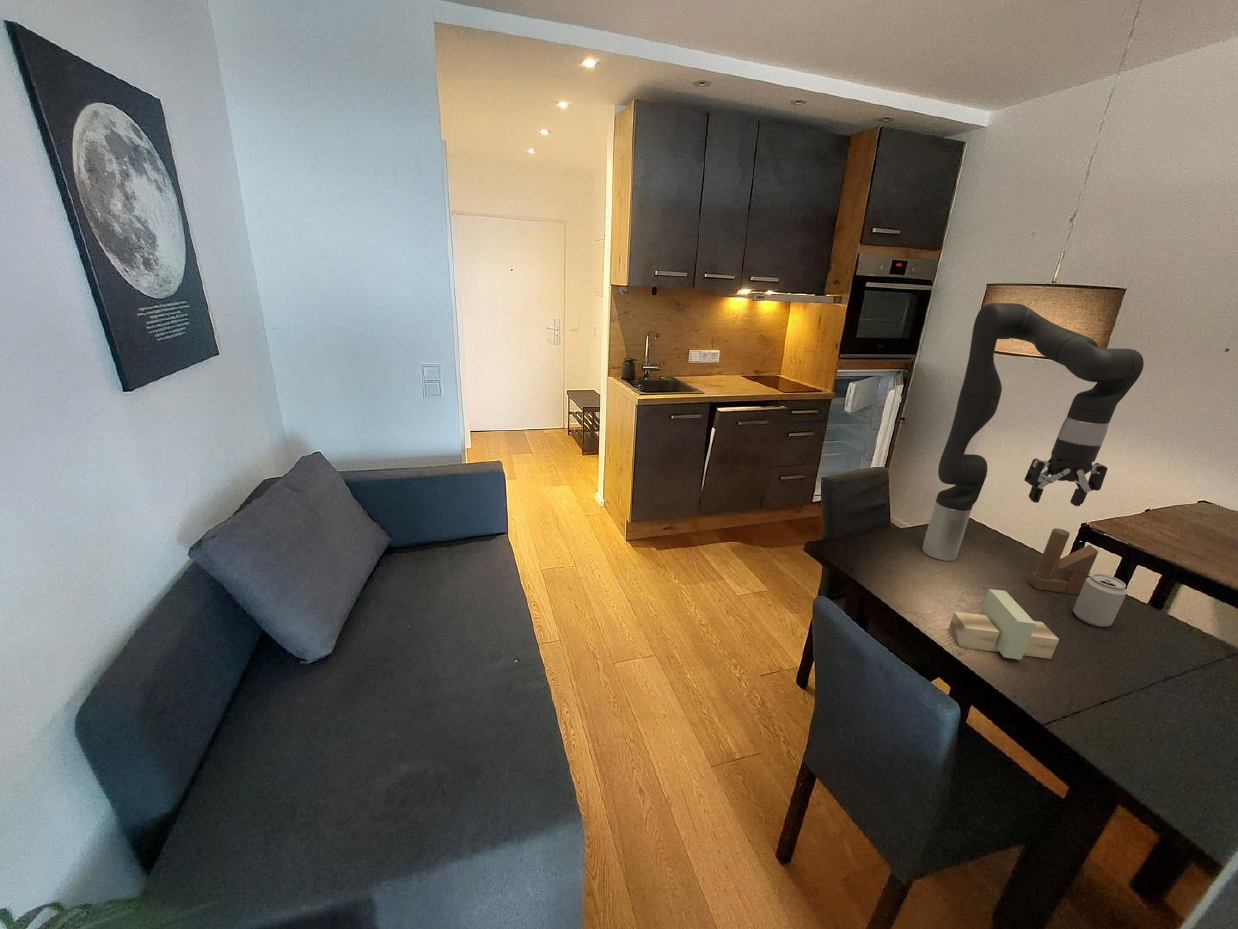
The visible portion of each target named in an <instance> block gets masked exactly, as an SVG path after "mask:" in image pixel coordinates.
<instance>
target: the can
mask: <svg viewBox="0 0 1238 929" xmlns="http://www.w3.org/2000/svg"><path fill="white" fill-rule="evenodd" d="M1126 586H1127V585H1126V583H1125V582H1124V581H1122V580H1121V579H1119V578H1118V577H1117V578H1116V577H1115V576H1111V575H1109V574H1103V573H1099V572H1098V573H1093V574H1091V576H1089V577H1088V576H1087V579H1086V580H1085V583H1084V585H1083V587H1082V590H1081V592H1080V594H1079V595H1078V598H1077V599H1076V601H1075V604H1074V606H1073V608H1072V612H1073V614H1075V616H1076V617H1077V618H1078V620H1081V622H1083V623H1086V624H1088V625H1091V626H1095V627H1098V628H1100V627H1101V628H1105V627H1111V626H1112V625H1113V622H1114V621H1115V619H1116V617H1117V615H1118V613H1119V610H1120V608H1121V606H1122V605H1123V602H1124V600H1125V598H1126V596H1127V594H1128V590H1127V589H1126Z"/></svg>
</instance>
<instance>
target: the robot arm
mask: <svg viewBox="0 0 1238 929" xmlns="http://www.w3.org/2000/svg"><path fill="white" fill-rule="evenodd" d="M971 334H972V335H971V341H970V349H969V355H968V361H967V364H966V365H967V366H966V370H965V374H964V379H963V382H962V386H961V389H960V393H959V395H958V396H959V397H958V399H957V403H956V404H957V405H956V409H955V413H954V417H953V421H952V425H951V429H950V432H949V435H948V437H947V440H946V443H945V446H944V448H943V451H942V454H941V457H940V460H939V463H938V470H937V475H938V476H937V477H938V479H939V480H940V481H941V483H942V484H945V485H953V486H951V487H949V488H947V489H946V488H945V489H942V490H941V491H938V493H937V496H936V498H935V503H934V506H933V510H932V514H931V518H930V519H929V521H928V527H927V529H926V533H925V537H924V539H923V540H924V541H923V543H922V548H921V549H922V551H923V553H924V554H926V555H927V556H929V557H931V558H934V559H935V560H936V559H937V560H940V561H946V562H950V561H951V562H953V561H955V560H956V559H957V558H958V554H959V551H960V548H961V544H962V542H963V538H964V535H965V531H966V528H967V526H968V522H969V519H970V515H971V512H972V509H973V506H974V505H975V503H977V500H978V499H979V497H980V493H981V492H982V488H983V486H984V484H985V481H986V478H987V475H988V463H987V460H986V459H985V457H984V456H982V455H980V454H973V453H972V454H969V453H968V454H967V453H965V452H966V450H967V447H968V446H969V444H970V442H971V440H972V439H973V437H974V436H975V435H976V434H977V433H978V432H979V431H980V430H982V429H983V428H984V426H985V425H986V424H988V423H989V422H990V421H991V419H992V418H993V417H994V416H995V414H996V413H997V409H998V407H999V402H1000V399H1001V396H1002V391H1003V388H1002V387H1003V386H1002V382H1001V378H1000V376H999V373H998V371H997V368H996V365H995V358H994V356H995V351H996V345H997V341H998V340H1010V339H1011V340H1012V339H1014V340H1019V341H1023V342H1028V343H1031V344H1032V345H1033V346H1034V347H1035V350H1037V352H1038V353H1039V354H1041V355H1042V356H1043V357H1045V358H1047V359H1048V360H1050V361H1053V362H1055V363H1058V364H1059V365H1062V366H1064V367H1065V368H1066V369H1067V370H1068V371H1069V372H1070V373H1072V374H1073V375H1074V376H1075V377H1077V378H1078V379H1080V380H1083V381H1086V382H1091V383H1095V384H1094V385H1093V387H1091V388H1090V389H1087V390H1084V391H1080V392H1078V393H1077V394H1076V395H1074V396H1073V399H1072V401H1071V405H1070V407H1069V409H1068V413H1067V415H1066V417H1065V419H1064V421H1063V422H1062V424H1061V426H1060V429H1059V432H1058V433H1057V437H1056V440H1055V442H1054V444H1053V447H1052V450H1051V455H1050V459H1048V460H1040V459H1038V458H1034V459H1033V460H1032V461H1031V464H1030V466H1029V468H1028V471H1027V472H1026V475H1025V477H1024V478H1023V480H1024V481H1025V483H1028V484H1029V485H1030V486H1031V489H1030V491H1029V493H1028V498H1029V500H1030V501H1031V502H1032V503H1036V504H1037V503H1039V502H1040V500H1041V497H1042V495H1043V492H1044V488H1045V487H1046V486H1048V485H1049V484H1053V483H1054V482H1056V481H1059V482H1064V481H1066V482H1069V483H1070V482H1071V483H1075V485H1076V487H1077V488H1075V490H1074V492H1073V493H1072V494H1073V495H1072V497H1071V498H1070V504H1072V505H1073V506H1075V507H1080V506H1081V505H1083V503H1084V502H1085V501H1086V500H1085V499H1086V497H1087V495H1088V493H1089V492H1092V491H1097V492H1098V491H1100V490H1101V488H1102V485H1103V484H1104V480H1105V477H1106V475H1107V472H1108V467H1107V466H1106V465H1103V464H1101V463H1099V462H1096V463H1095V461H1096V460H1097V457H1098V455H1099V452H1100V450H1101V447H1102V445H1103V442H1104V440H1105V438H1106V436H1107V434H1108V433H1107V432H1108V429H1109V426H1110V422H1111V420H1112V417H1113V415H1114V414H1115V413H1114V412H1115V410H1116V407H1117V405H1118V404H1119V403H1120V402H1121V401H1122V399H1123V398H1124V397H1125V396H1126V395H1127V393H1128V392H1129V391H1130V390H1131V388H1132V387H1133V386H1134V385H1135V383H1136V382H1137V381H1138V379H1139V377H1140V376H1141V374H1142V372H1143V369H1144V364H1145V362H1144V358H1143V356H1142V353H1141V352H1139V351H1137V350H1136V349H1131V348H1103V347H1099V345H1098V343H1097V341H1096V340H1094V339H1093V338H1092V337H1091V338H1090V337H1089V336H1088V335H1087V336H1086V335H1083V334H1082V333H1078V332H1076V331H1073V330H1071V329H1068V328H1064V327H1062V326H1060V325H1058V324H1055V323H1053V322H1052V321H1050V320H1049V319H1046V318H1045V317H1044V316H1041V315H1040V314H1039V313H1038V312H1036V311H1034V310H1033V309H1032V308H1030V307H1028V306H1026V305H1025V304H1020V303H1015V302H1014V303H1011V302H1010V303H1009V302H1007V303H1006V302H992V303H991V302H990V303H988V304H985V305H984V306H983V307H982V308H981V309H980V310H979V311H978V313H977V315H976V317H975V320H974V323H973V328H972V333H971ZM1046 468H1047V469H1046ZM1089 472H1090V475H1089V478H1087V476H1086V475H1087V474H1088V473H1089Z"/></svg>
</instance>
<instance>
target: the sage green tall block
mask: <svg viewBox="0 0 1238 929" xmlns="http://www.w3.org/2000/svg"><path fill="white" fill-rule="evenodd" d="M979 615H986V616H987V617H988V618H989V620H990V621H991V622H992V623H993V625H994V626H995V627H996V628H997V629H998V631H999V632H1000V633H999V636H998V638H997V641H996V644H995V646H996V647H997V649H998V650H999V651H1000V652H999V653H1000V654H1001V655H1002V657H1003V658H1007V659H1013V660H1021V661H1022V659H1023V656H1025V655H1024V652H1025V650H1026V647H1027V645H1028V642H1029V640H1030V637H1031V635H1032V633H1033V630H1034V628H1035V625H1036V623H1035V622H1034V621H1035V620H1034V619H1032V618H1031V617H1030V616H1029V614H1028V613H1027V612H1026V611H1025V610H1024V609H1023V608H1022V606H1020V605H1019V603H1018V602H1017V601H1015V599H1014V598H1013V597H1012V596H1011V595H1010V594H1009V592H1007V590H1003V589H1002V590H1000V589H991V588H990V589H988V592H987V595H986V598H985V600H984V604H983V606H982V608H981V611H980V614H979Z"/></svg>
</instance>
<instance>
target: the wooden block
mask: <svg viewBox="0 0 1238 929" xmlns="http://www.w3.org/2000/svg"><path fill="white" fill-rule="evenodd" d="M1070 534H1071V533H1070V532H1069V531H1067V530H1065V529H1062V528H1052V531H1051V533H1050V536H1049V537H1048V540H1047V542H1046V545H1045V548H1044V550H1043V552H1042V556H1041V558H1040V561H1039V563H1038V566H1037V568H1036V571H1034V572H1031V576H1030V578H1029V581H1028V583H1029V585H1030V586H1032V587H1033V589H1035V590H1041V591H1047V592H1055V593H1061V594H1063V593H1064V594H1069V595H1075V596H1079V594H1080V592H1081V590H1082V587H1083V585H1084V583H1085V580H1086V579H1087V578H1088V576H1089V574H1090V573H1091V569H1092V568H1093V565H1094V563H1095V561H1096V559H1097V556H1098V554H1099V550H1097V548H1095V547H1094V546H1092V544H1088V545H1087V546H1084V547H1082V548H1080V549H1078V550H1076V551H1073V552H1072V553H1070V554H1067V555H1065V556H1063V557H1062V555H1063V552H1064V550H1065V547H1066V545H1067V543H1068V540H1069V537H1070ZM1056 569H1058V570H1060V571H1063V572H1062V576H1059V575H1056V574H1055V572H1056Z"/></svg>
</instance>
